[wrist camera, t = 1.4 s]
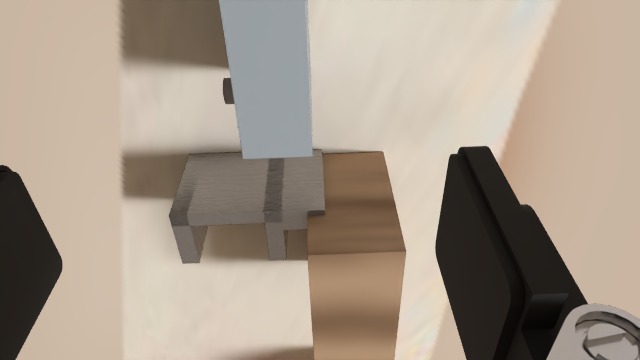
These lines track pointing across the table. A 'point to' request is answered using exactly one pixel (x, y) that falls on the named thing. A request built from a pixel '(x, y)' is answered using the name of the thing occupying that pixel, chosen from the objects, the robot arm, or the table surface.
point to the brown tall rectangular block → (355, 261)
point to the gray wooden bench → (246, 198)
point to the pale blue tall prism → (269, 75)
